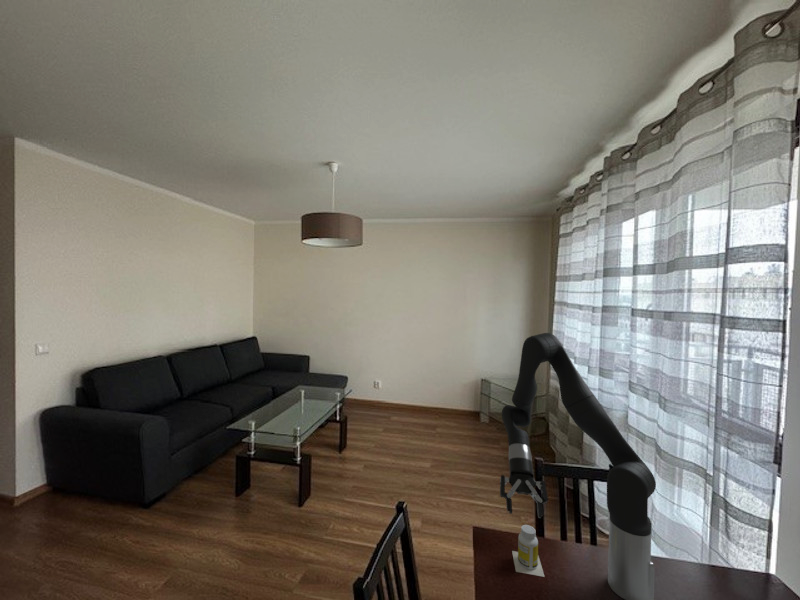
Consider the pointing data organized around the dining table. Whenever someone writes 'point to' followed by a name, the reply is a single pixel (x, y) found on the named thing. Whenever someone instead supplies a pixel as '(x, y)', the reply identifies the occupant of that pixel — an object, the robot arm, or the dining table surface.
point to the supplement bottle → (528, 547)
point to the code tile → (521, 569)
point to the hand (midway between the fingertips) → (525, 515)
